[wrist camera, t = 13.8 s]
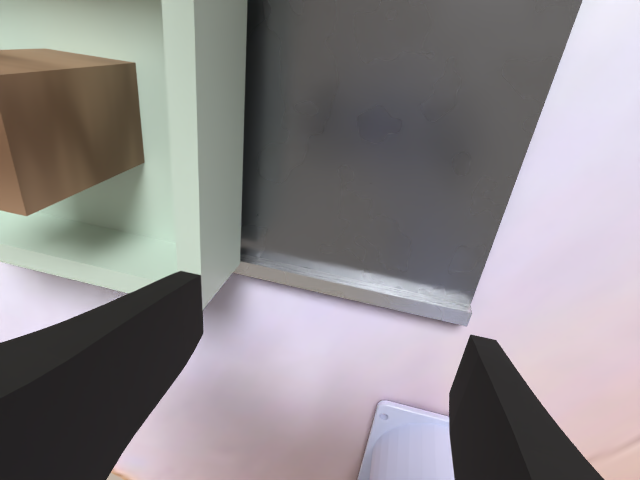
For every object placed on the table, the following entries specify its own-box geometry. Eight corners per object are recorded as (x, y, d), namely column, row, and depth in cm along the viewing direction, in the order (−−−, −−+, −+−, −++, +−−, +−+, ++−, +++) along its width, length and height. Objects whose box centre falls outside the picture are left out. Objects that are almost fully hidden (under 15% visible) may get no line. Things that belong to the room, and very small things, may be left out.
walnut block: (144, 162, 17) (26, 216, 12) (63, 146, 18) (-83, 191, 13) (135, 62, 16) (-9, 75, 10) (44, 48, 16) (-136, 53, 11)
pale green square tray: (246, 254, 21) (201, 311, 16) (12, 202, 23) (-83, 241, 18) (259, -87, 14) (190, -139, 10) (-73, -119, 16) (-251, -175, 12)
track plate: (464, 313, 20) (467, 329, 19) (-13, 206, 24) (-32, 214, 23) (611, -87, 13) (628, -99, 12) (-119, -151, 16) (-156, -163, 15)
